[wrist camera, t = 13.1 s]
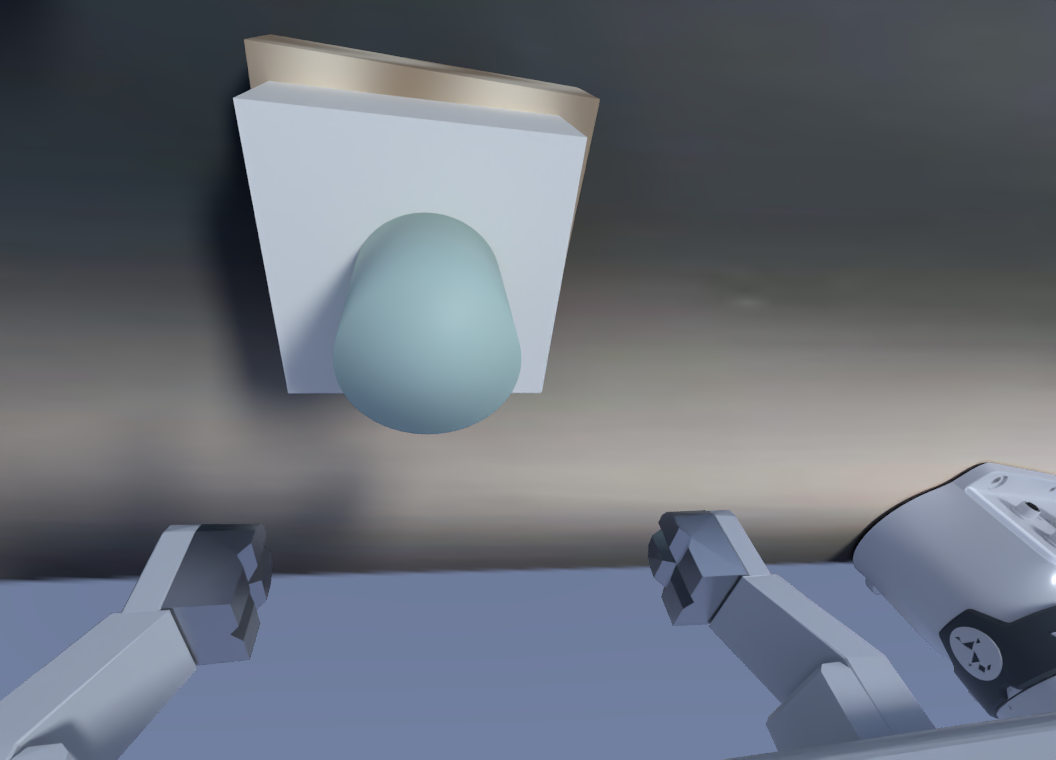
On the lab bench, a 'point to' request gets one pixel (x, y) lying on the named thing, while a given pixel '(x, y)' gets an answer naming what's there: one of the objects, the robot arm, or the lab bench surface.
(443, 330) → the pale blue egg shape
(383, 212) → the white top block
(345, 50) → the maple base block
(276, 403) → the lab bench surface
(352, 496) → the lab bench surface
